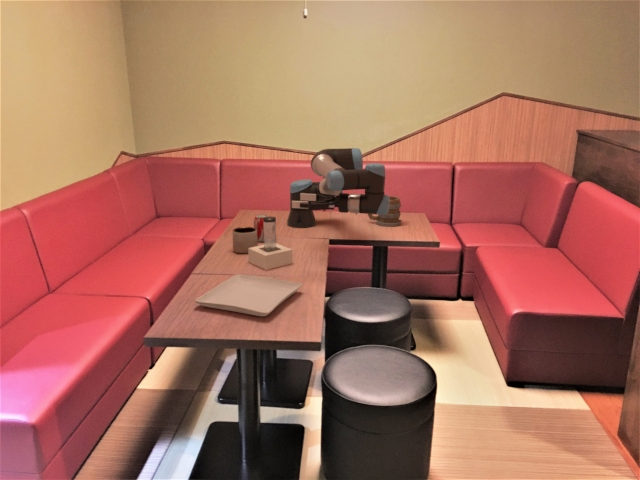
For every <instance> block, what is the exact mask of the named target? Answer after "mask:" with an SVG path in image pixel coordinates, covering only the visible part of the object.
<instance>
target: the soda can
mask: <svg viewBox="0 0 640 480" xmlns="http://www.w3.org/2000/svg"><path fill="white" fill-rule="evenodd" d="M264 217H268V215H267V214H256V215H255V216H254V219H253V228H256V229H257V243H264V226H263V218H264Z"/></svg>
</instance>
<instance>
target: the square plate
mask: <svg viewBox="0 0 640 480" xmlns="http://www.w3.org/2000/svg"><path fill="white" fill-rule="evenodd" d="M302 286H303V283H301V282H296V281H290V280H285V279H284V280H283V279H279V278H272V277H265V276H256V275H249V274H241V273H238V274H235V275H232V276H231V277H230V278H228V279H226V280H224V281H222V282H221V283H219V284H217V285H216V286H215V287H213V288H211V289H210V290H208V291H207V292H205V293H204V294H202V295H200V296H198V297H197V298H196V299H195V300H194V303H197V304H198V305H199V306H202V307H205V308H212V309H218V310H224V311H230V312H234V313H235V312H236V313H241V314H246V315H250V316H251V315H252V316H257V317H266V316H268V315H270V314H271V313H272V312H273V311H275V309H276V308H277V307H278V306H279V305H281V304H282V303H283V302H284V301H285V300H287V299H288V298H290V297H291V296H293V294H295V293H296V292H297V291H298V290H299V289H300V288H301V287H302Z"/></svg>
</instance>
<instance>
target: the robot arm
mask: <svg viewBox="0 0 640 480" xmlns="http://www.w3.org/2000/svg"><path fill="white" fill-rule="evenodd" d="M363 160H364V159H363V153H362V151H361V149H360V148H358V147H357V148H356V147H351V148H349V147H348V148H347V147H346V148H324V149H321V150H319V151H318V152H316V153H315V154H313V157H312V158H311V160H310V169H311V171H312V172H313V173H314V174H315V175H317V176H319V177H323V179H321V181H313V180H312V179H309V178H307V179H304V178H303V179H298V180H295V181H292V182H291V183H290V185H289V203H290V205H289V208H290V209H289V213H288V217H287V219H286V224H287V226H289V227H291V228H298V229H300V228H302V229H304V228H305V229H306V228H311V227H315V226H316V225H317V221H316V220H317V219H316V218H315V215H314V211H324V210H332V211H333V210H335V208H337V210H338V212H339V213H344V214H345V213H350V214H355V215H358V214H366V215H368V214H372V215H376V216H378V214H387V213H388V212H389V200H390V198H389V196H390V195H387V194H385V185H386V184H385V183H386V167H385V165H384V164H383V163H380V162H379V163H378V162H370V163H366V164H365V167H364V161H363ZM353 190H354V191H356V190H357V191H358V190H364V193H363V194H362V193H347V192H346V193H345V192H344V191H353Z"/></svg>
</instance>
